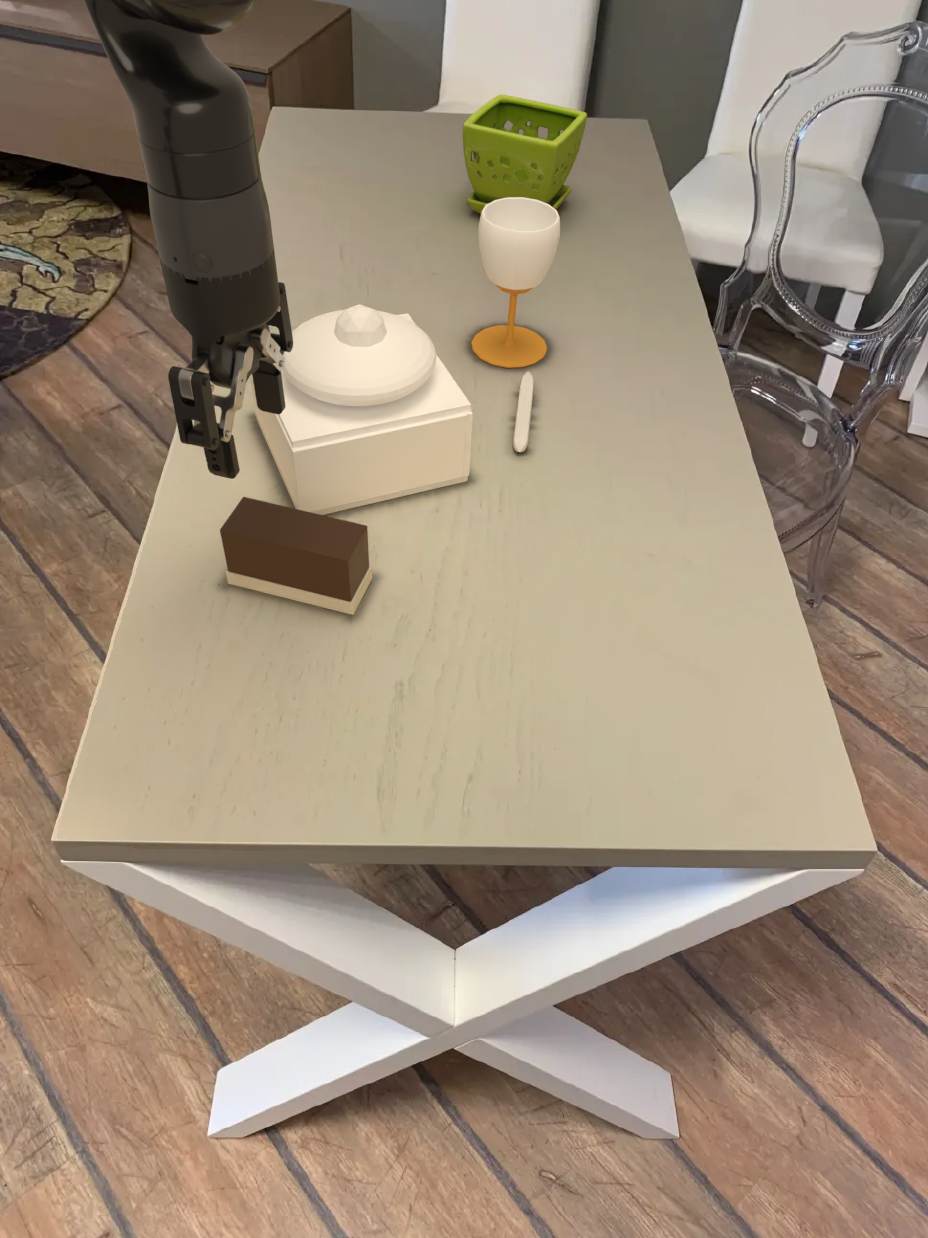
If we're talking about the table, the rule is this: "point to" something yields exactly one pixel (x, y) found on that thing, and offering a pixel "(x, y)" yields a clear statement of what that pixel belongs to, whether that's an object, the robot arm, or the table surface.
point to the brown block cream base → (297, 555)
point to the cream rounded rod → (523, 413)
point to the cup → (515, 272)
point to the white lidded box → (366, 413)
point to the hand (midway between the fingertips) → (249, 441)
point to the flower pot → (521, 150)
